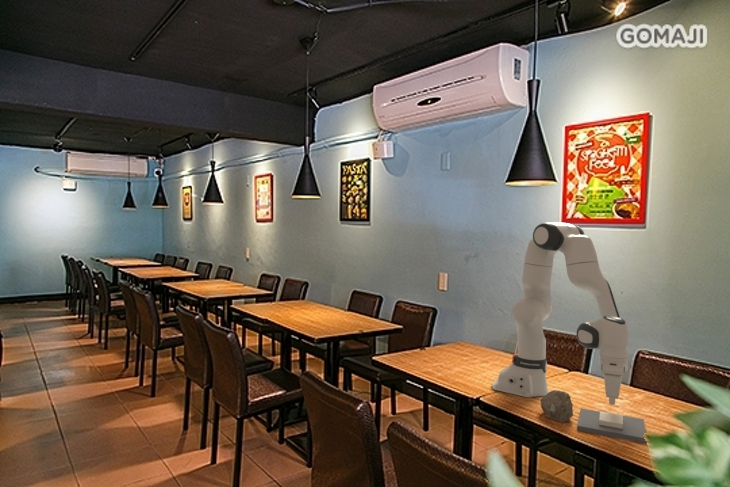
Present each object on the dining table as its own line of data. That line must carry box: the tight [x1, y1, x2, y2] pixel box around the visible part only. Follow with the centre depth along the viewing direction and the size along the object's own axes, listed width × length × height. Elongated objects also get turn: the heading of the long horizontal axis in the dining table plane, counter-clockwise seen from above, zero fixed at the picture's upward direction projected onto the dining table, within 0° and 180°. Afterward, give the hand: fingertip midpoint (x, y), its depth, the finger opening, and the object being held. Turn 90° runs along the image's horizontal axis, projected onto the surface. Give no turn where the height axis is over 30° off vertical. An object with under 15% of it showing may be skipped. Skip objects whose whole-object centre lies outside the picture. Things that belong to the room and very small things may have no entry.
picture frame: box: [599, 411, 624, 429], centre depth 163 cm, size 7×2×9 cm
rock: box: [540, 389, 574, 423], centre depth 170 cm, size 14×10×8 cm
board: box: [576, 408, 647, 444], centre depth 163 cm, size 20×18×2 cm
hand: (611, 403), depth 166 cm, fingers closed
